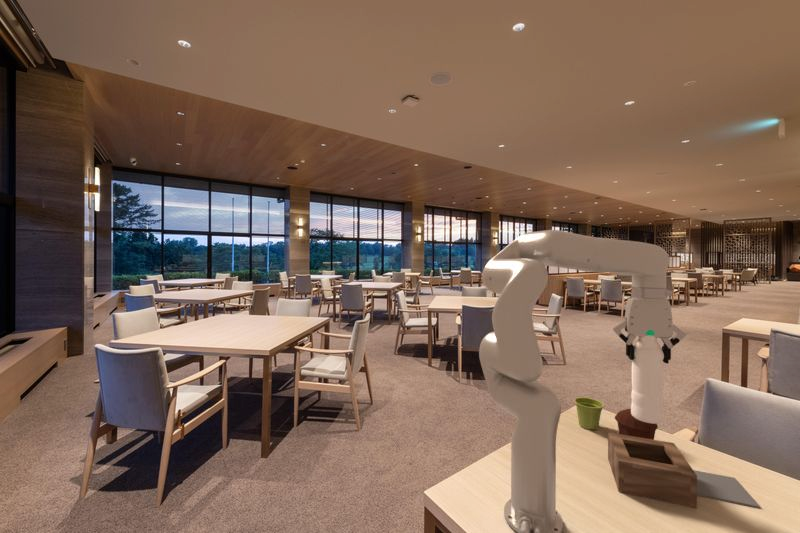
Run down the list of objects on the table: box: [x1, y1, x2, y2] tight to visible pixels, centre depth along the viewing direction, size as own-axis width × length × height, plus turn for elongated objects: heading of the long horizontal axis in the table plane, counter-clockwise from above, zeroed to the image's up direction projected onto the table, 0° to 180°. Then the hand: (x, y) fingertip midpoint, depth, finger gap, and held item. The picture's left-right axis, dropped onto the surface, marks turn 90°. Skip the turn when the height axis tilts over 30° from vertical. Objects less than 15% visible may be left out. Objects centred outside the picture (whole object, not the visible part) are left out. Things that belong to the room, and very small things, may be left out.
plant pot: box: [573, 396, 605, 431], centre depth 123 cm, size 9×9×9 cm
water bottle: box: [630, 330, 665, 425], centre depth 92 cm, size 7×7×25 cm
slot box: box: [607, 431, 698, 510], centre depth 92 cm, size 16×16×8 cm
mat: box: [693, 469, 761, 509], centre depth 90 cm, size 12×12×1 cm
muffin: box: [614, 408, 659, 440], centre depth 113 cm, size 12×11×10 cm
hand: (647, 360), depth 92 cm, fingers closed on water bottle, 7 cm apart
